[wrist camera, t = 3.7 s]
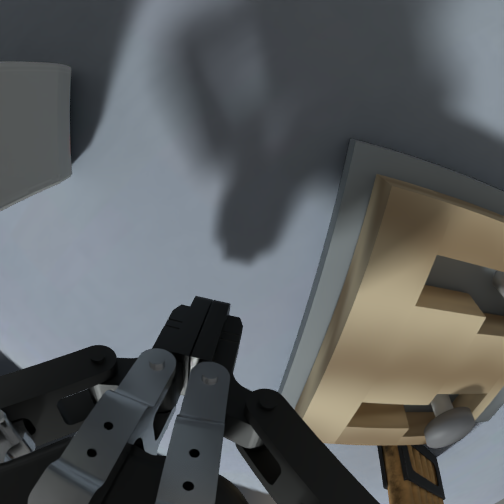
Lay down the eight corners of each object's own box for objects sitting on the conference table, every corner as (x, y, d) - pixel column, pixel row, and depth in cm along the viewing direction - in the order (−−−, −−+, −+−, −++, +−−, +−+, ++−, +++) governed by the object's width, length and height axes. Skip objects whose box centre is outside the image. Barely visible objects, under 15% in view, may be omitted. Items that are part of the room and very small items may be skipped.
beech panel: (376, 173, 11) (391, 186, 9) (555, 239, 11) (577, 255, 9) (292, 412, 17) (291, 439, 15) (447, 420, 17) (454, 441, 15)
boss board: (350, 138, 12) (381, 152, 8) (585, 234, 11) (628, 267, 7) (274, 401, 19) (268, 463, 15) (483, 410, 18) (500, 454, 14)
